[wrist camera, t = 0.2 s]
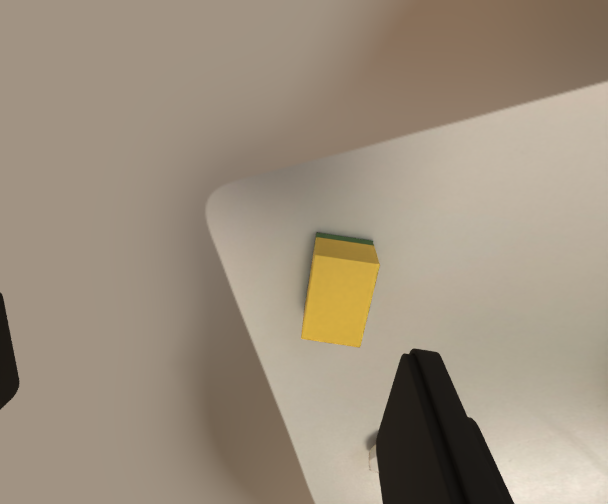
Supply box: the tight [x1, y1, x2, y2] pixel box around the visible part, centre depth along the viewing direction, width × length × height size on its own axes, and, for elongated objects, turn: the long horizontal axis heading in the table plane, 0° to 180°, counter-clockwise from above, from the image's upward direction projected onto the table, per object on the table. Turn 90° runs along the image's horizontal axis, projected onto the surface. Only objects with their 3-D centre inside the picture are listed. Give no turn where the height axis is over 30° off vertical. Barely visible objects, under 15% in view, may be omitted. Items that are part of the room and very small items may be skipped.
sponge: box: [301, 233, 380, 347], centre depth 29 cm, size 7×4×4 cm, turn 172°
